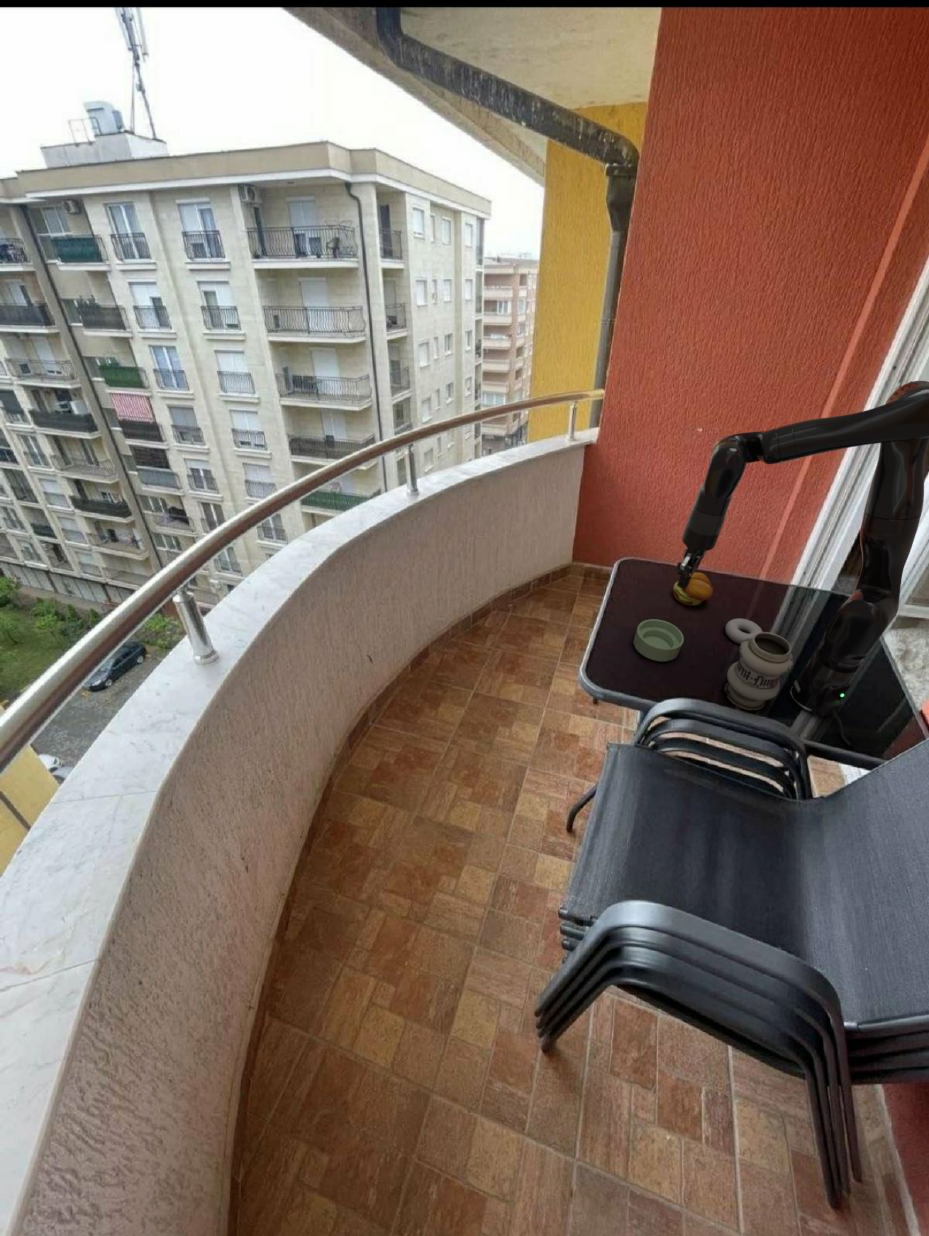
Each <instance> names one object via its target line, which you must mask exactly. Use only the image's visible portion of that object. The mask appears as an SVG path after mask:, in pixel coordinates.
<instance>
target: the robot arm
mask: <svg viewBox="0 0 929 1236" xmlns="http://www.w3.org/2000/svg"><path fill="white" fill-rule="evenodd" d="M876 444H879V452H878V458H877V463H876V466H875V470H874V473H873V475H872V479H871V483H870V487H869V489H868V490H869V491H868V495H867V498H866V502H865V505H864V509H863V510H864V511H863V515H862V519H861V524H860V530H859V531H860V532H859V543H860V544H859V545H860V550H861V557H862V562H861V569H860V573H859V577H858V580H857V582H856V586H855V588H854V590H853V592H852V594H851V595H850V596H849V598H847V600H845V601H844V603H842V605H841V606H840V608H839V609H838V610H837V612H836V614H835V615H834V617H833V618H832V620H831V622H830V623H829V624H828V627H827V628H826V630H825V632H824V634H823V636H822V638H821V640H820V642H819V643H818V645H817V647H816V648H815V650H814V652H813V653H812V655H811V656H810V658H809V660H808V661H807V662H806V664H805V666H804V667H803V669H802V670H801V672H800V674H799V676H797V679H795V680H794V682H793V685H792V686H791V688H790V689H789V698H790V699H791V701H792V702H793V703H794V704H795V705H796V706H797V707H798V708H800V709H802V710H803V711H805V712H808V713H809V714H811V715H812V716H818V715H820V716H822V717H825V716H830V715H833V717H834V718H835V720H836V722H837V723H838V727H839V736H840V738H841V739H842V741H843V742H844V743H845V744H846V745H847V746H848V747H850V746H852V743H851V741H849V740H848V739H847V738H846V736H845V733H844V732H845V731H844V730H845V729H844V725H843V722H842V721H841V718H840V716H839V714H838V711H839V710H840V709H841V707H842V706H843V703H842V702H841V700H842V699H843V697H845V694H846V693H847V691H848V690H849V689H850V687H851V685H852V684H851V682H850V680H851V679H852V677H853V676H854V675H855V673H856V672H857V671H858V669H859V668H860V666H861V665H862V664H863V662H864V661H865V659H866V658H867V657H868V655H869V654H870V653H871V651H872V649H873V648H874V646H875V645H876V644H877V642H878V641H879V639H881V637H882V635H883V634H884V633H885V631H886V630H887V629H888V627H889V626H890V625H891V624H892V623H893V621H894V619H895V618H896V617H897V614H898V612H899V606H900V597H901V588H902V579H903V574H904V571H905V566H906V563H907V560H908V559H909V556H910V553H911V551H912V547H913V544H914V542H915V538H916V535H917V533H918V528H919V525H920V521H921V517H922V513H923V509H924V502H925V459H926V453H927V449H928V445H929V381H928V380H913V381H909V382H907V383H905V384H902V385H901V386H900V387H898V388H897V389H895V390H894V391H893V393H892V394H891V395H890V396H889V397H888V399H887V400H886V402H885V404H882V405H879V406H876V407H874V408H869V409H866V410H863V411H859V412H854V413H849V414H842V415H837V416H828V417H819V418H813V419H807V420H802V421H797V422H793V423H789V424H786V425H782V426H778V427H774V428H771V429H768V430H760V431H758V430H757V431H749V432H741V433H734V434H731V435H727V436H724V437H723V438H720V439H718V440H717V441H716V442H715V443H714V445H712V447H711V450H710V456H709V457H710V459H709V464H708V467H707V472H706V475H705V478H704V481H703V483H702V484H701V486H700V488H699V489H698V491H697V496H696V498H695V502H694V504H693V507H692V509H691V511H690V513H689V516H688V519H687V522H686V524H685V527H684V530H683V533H682V537H681V541H682V543H683V544H684V545H685V546H686V548H685V549H684V550H683V552H682V559H681V561H679V562H678V563H677V564H676V569H677V576H679V579H678V580H677V582H678V584H677V585H678V586H679V587H681V588H683V589H685V588H686V587H687V586H688V585H689V582H690V579H691V576H692V575H693V574H694V573H695V572H696V570H698V569H699V566H700V564H701V562H702V561H703V559H704V557H705V555H706V554H707V552H708V551H711V550H713V549H714V548H715V547H716V544H717V542H718V539H719V538H720V537H719V536H720V535H721V531H722V529H723V526H724V524H725V520H726V515H727V512H728V510H729V507H730V504H731V502H732V499H733V495H734V493H735V491H736V489H737V488H738V486H739V484H740V482H741V480H742V477H743V475H744V473H745V471H746V468H747V465H748V464H752V463H757V462H763V463H764V464H765V465H770V466H771V465H777V464H781V463H785V462H790V461H795V460H799V459H802V458H807V457H811V456H814V455H820V454H825V453H828V452H834V451H839V450H843V449H848V448H849V449H850V448H853V447H854V448H857V447H861V446H869V445H876Z"/></svg>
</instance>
